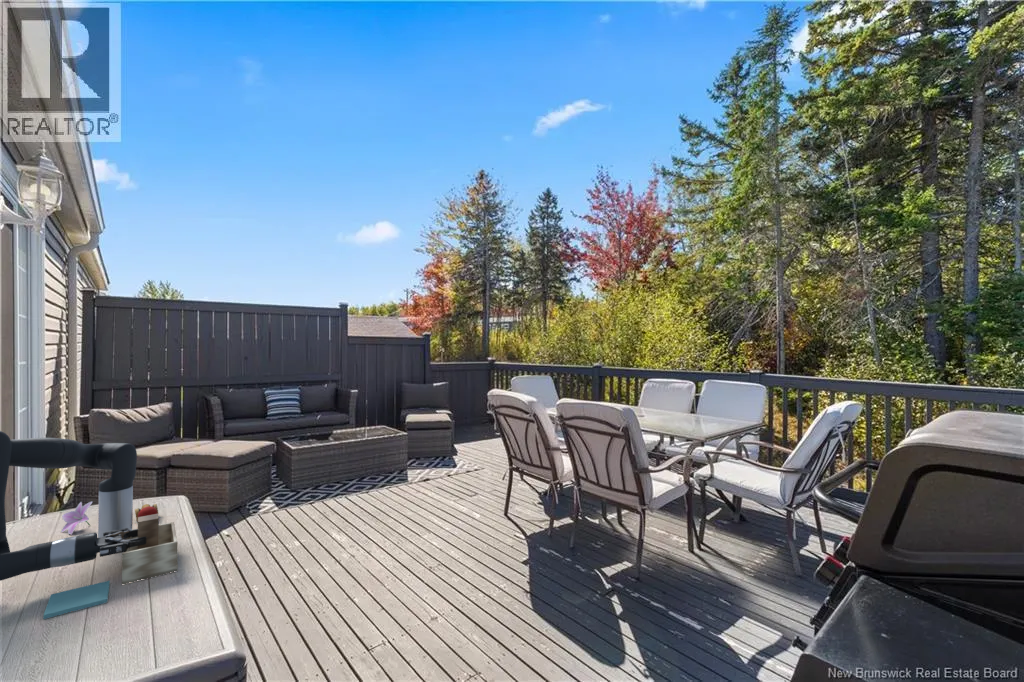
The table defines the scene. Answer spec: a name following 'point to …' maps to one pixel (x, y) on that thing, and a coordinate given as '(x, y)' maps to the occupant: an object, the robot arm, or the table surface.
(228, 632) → the table surface
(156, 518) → the walnut block
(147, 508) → the kendama
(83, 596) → the mat
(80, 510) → the lily
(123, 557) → the crate
